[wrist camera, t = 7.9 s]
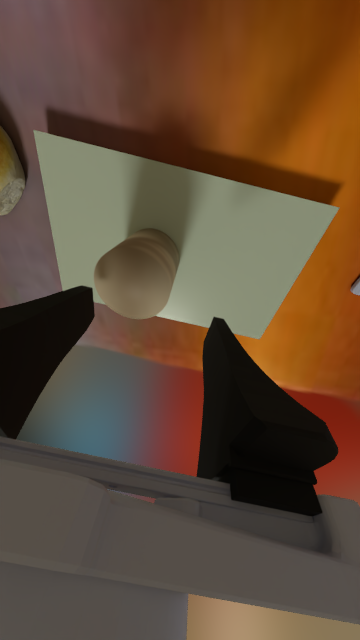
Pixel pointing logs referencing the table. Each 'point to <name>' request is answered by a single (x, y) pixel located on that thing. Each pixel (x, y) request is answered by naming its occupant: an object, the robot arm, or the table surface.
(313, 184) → the table surface
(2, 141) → the bread roll
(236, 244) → the green board
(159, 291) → the maple cylinder
